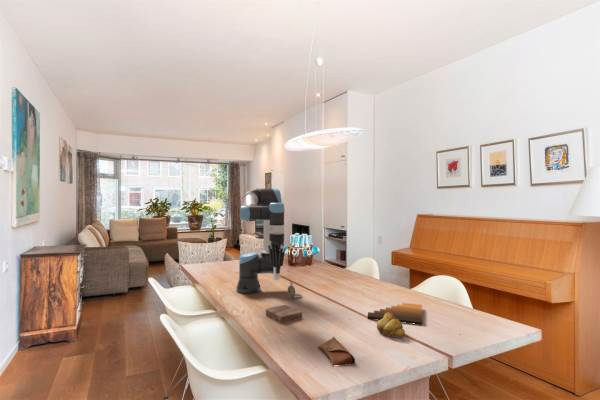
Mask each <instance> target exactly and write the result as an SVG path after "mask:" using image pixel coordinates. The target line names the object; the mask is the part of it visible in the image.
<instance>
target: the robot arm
mask: <svg viewBox="0 0 600 400" xmlns="http://www.w3.org/2000/svg"><path fill="white" fill-rule="evenodd" d="M241 202H242V204H243V205H242V206H240V210H239V211H240V213H239V215H240V220H242V221H263V250H262V251H261V252H260V254H259V253H258V252H248V253H244V254H241V255H240V256H239V260H238V264H239V265H238V267H239V268H238V269H239V272H238V276H239V278H238V281H237V283H236V293H239V294H255V293H258V292H260V291H261V284H260V280H259V278H258V277H259V274H273V280H274V281H277V280H280V279H281V277H280V273H281V269H282V268H281V267H283V266H284V260H285V253H286V250H287V247H284V244H283V242H284V241H285V204H284V202H283V200H282V195H281V190H279V189H278V188H258V187H256V188H251V189H249V190H247V191H246V192H244V194H243V195H242V198H241Z"/></svg>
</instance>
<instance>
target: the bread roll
mask: <svg viewBox="0 0 600 400" xmlns="http://www.w3.org/2000/svg"><path fill="white" fill-rule="evenodd" d="M403 327H404V326H403V323H401V322H400V321H399V320H398V319H395V316H394V315H393V314H392V313H390V312H387V313H385V315H384V317H383V318H382V319H381V320H377V323H376V328H377V331H378V333H381V334H383V335H385V336H387V337H393V338H396V339H400V338H403V337H404V336H405V334H406V332H405V329H404V328H403Z"/></svg>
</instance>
